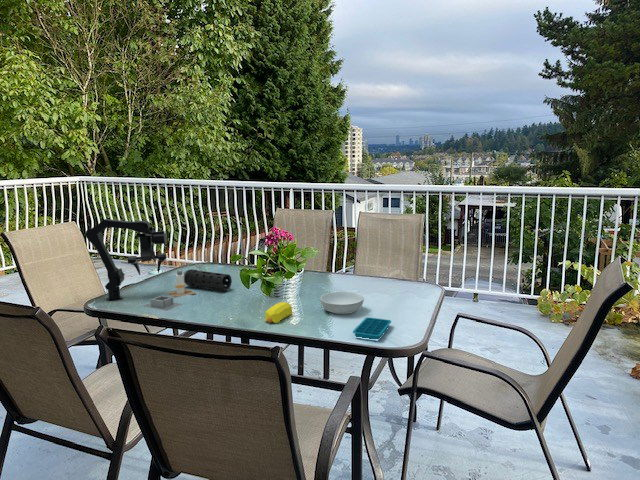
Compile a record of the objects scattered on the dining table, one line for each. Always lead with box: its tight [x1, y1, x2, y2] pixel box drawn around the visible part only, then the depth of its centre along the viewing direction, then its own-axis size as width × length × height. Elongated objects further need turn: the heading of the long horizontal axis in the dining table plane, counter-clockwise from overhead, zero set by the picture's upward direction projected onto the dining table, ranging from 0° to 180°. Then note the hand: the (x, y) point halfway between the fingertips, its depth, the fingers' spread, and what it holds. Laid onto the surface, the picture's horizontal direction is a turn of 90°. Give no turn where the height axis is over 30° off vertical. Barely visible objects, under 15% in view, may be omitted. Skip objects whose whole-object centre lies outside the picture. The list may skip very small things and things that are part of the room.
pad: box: [165, 288, 197, 298], centre depth 252 cm, size 12×12×1 cm
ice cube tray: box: [352, 316, 392, 339], centre depth 197 cm, size 12×20×3 cm, turn 157°
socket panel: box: [142, 295, 183, 312], centre depth 230 cm, size 16×11×4 cm
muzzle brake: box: [183, 268, 232, 293], centre depth 262 cm, size 10×28×10 cm, turn 64°
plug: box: [174, 270, 186, 294], centre depth 251 cm, size 5×5×12 cm
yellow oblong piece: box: [264, 301, 293, 324], centre depth 214 cm, size 18×7×8 cm
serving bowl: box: [319, 290, 365, 315], centre depth 224 cm, size 21×21×7 cm
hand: (149, 274), depth 244 cm, fingers open, 9 cm apart
